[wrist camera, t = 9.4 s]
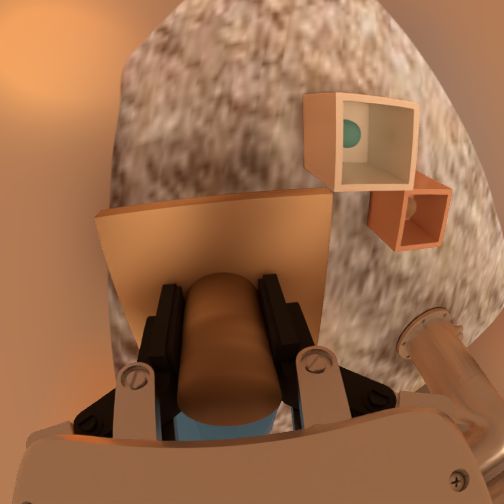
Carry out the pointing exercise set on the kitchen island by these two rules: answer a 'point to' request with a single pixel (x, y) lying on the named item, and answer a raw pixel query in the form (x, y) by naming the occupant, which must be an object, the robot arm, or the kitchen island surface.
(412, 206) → the cork
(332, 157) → the cream open box
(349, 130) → the ball
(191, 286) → the lid
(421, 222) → the orange open box
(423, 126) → the kitchen island surface
